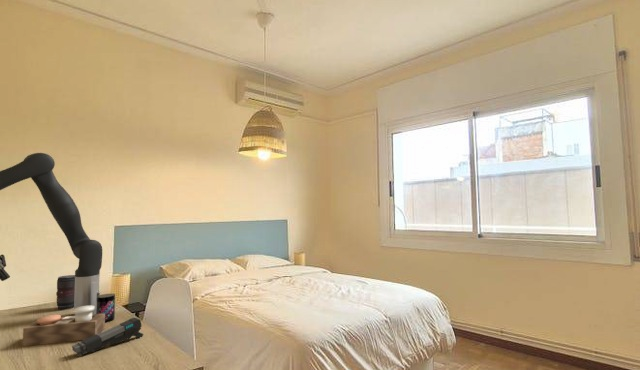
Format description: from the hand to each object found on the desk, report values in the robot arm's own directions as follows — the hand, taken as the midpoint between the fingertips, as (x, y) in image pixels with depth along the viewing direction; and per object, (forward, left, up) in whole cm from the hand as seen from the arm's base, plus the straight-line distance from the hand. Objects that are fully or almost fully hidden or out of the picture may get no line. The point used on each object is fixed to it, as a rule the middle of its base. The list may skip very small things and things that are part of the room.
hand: (6, 279), depth 124 cm
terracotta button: (-12, +9, -21) cm, 26 cm away
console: (-17, +12, -22) cm, 30 cm away
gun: (-28, +33, -22) cm, 49 cm away
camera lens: (-20, -36, -22) cm, 47 cm away
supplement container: (-31, 0, -22) cm, 38 cm away
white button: (-22, +14, -19) cm, 33 cm away
